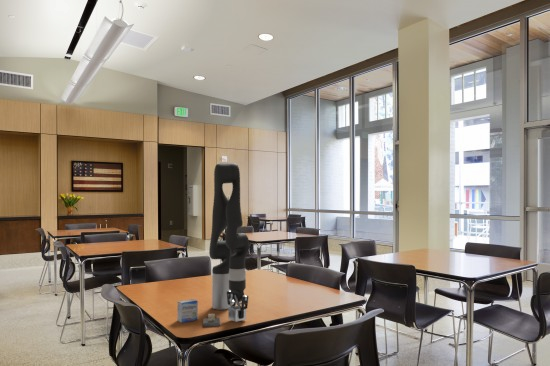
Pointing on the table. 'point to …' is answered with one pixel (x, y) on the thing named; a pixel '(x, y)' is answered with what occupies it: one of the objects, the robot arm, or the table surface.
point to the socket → (235, 314)
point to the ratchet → (211, 321)
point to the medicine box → (187, 310)
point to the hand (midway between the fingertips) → (237, 316)
